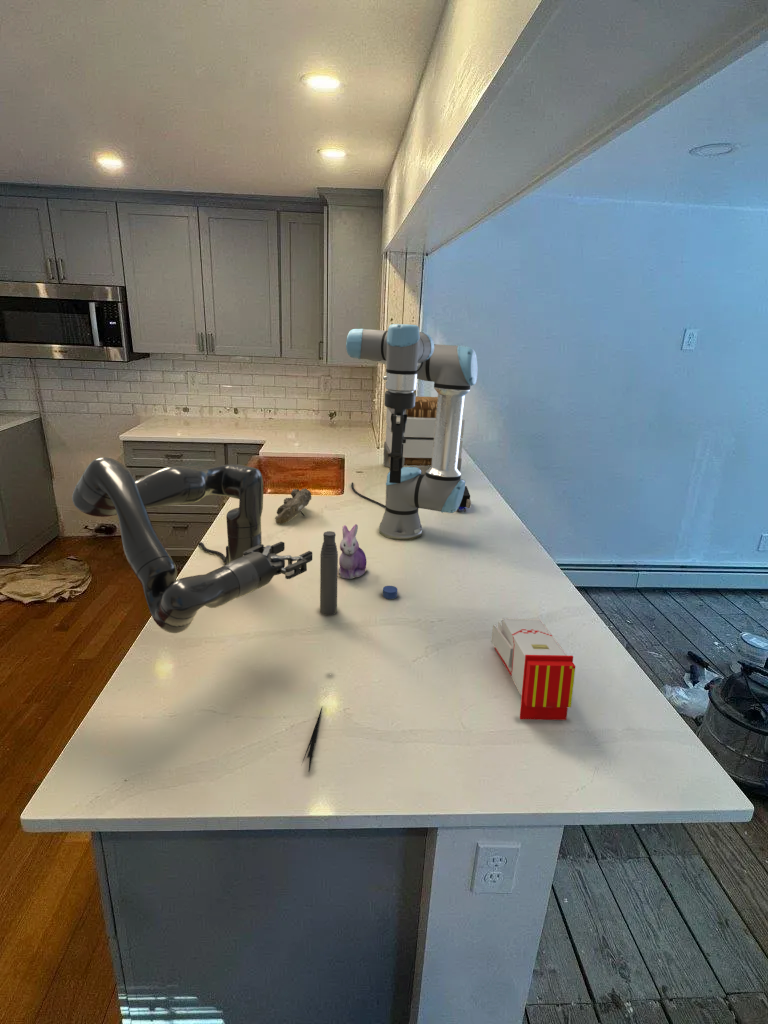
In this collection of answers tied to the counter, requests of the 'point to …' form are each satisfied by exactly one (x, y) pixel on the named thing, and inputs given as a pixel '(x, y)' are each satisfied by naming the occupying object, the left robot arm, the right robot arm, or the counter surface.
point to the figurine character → (465, 500)
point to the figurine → (351, 555)
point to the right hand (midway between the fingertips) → (396, 475)
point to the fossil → (293, 505)
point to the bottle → (328, 574)
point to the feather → (313, 740)
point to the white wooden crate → (418, 434)
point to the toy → (535, 667)
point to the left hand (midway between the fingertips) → (297, 550)
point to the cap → (390, 592)
